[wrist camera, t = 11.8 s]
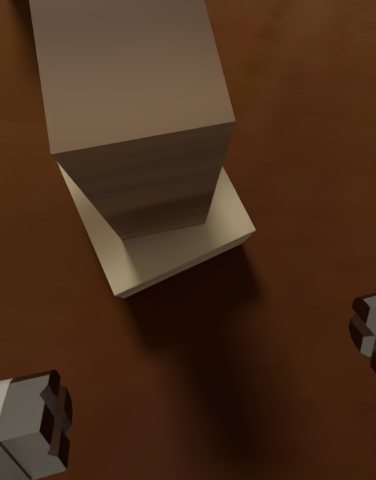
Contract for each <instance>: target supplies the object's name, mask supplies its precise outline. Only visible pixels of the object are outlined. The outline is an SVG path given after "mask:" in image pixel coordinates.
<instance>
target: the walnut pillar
mask: <svg viewBox="0 0 376 480" xmlns="http://www.w3.org/2000/svg"><path fill="white" fill-rule="evenodd" d="M29 3H30V10H31V17H32V24H33V31H34V38H35V45H36V52H37V59H38V66H39V73H40V80H41V87H42V94H43V101H44V108H45V115H46V122H47V129H48V136H49V143H50V150H51V155H52V156H53V157H54V159H55V160H56V161H57V162H58V163H59V165H60V166H61V167H62V168H63V169H64V171H65V172H66V173H67V174H68V176H69V177H70V178H71V179H72V180H73V182H74V183H75V184H76V185H77V186H78V188H79V189H80V190H81V191H82V192H83V194H84V195H85V196H86V197H87V199H88V200H89V201H90V202H91V203H92V205H93V206H94V207H95V208H96V209H97V211H98V212H99V213H100V214H101V216H102V217H103V218H104V219H105V220H106V222H107V223H108V224H109V225H110V226H111V228H112V229H113V230H114V231H115V232H116V234H117V235H118V236H119V237H120V239H121V240H124V239H129V238H135V237H140V236H145V235H150V234H155V233H160V232H165V231H170V230H175V229H180V228H185V227H190V226H195V225H200V224H205V223H206V219H207V216H208V212H209V209H210V206H211V202H212V199H213V196H214V192H215V189H216V185H217V182H218V179H219V175H220V172H221V168H222V165H223V162H224V158H225V155H226V152H227V148H228V145H229V141H230V138H231V135H232V131H233V128H234V125H235V117H234V113H233V109H232V106H231V102H230V98H229V94H228V90H227V86H226V82H225V78H224V75H223V71H222V67H221V63H220V59H219V55H218V51H217V47H216V44H215V40H214V36H213V32H212V28H211V24H210V20H209V16H208V13H207V9H206V5H205V1H204V0H29Z"/></svg>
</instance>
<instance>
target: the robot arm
mask: <svg viewBox="0 0 376 480" xmlns="http://www.w3.org/2000/svg"><path fill="white" fill-rule="evenodd" d="M352 308H353V310H354V311H355V312H356V313H355V314H354V315H353V316H352V317H351V319H350V322H349V331H350V335H351V338H352V340H353V342H354V344H355V346H356V347H357V349H358V350H359V351H360V352H361V353H362V354H364V355H366V356H368V357H370V366H371V368H372V369H373V370H374V372H375V373H376V293H372V294H368V295H364V296H360V297H356V299H355V300H354V301H353V305H352ZM60 378H61V377H60V375H59V374H58V372H57V371H56V370H50V371H45V372H40V373H35V374H31V375H26V376H21V377H16V378H12V379H8V380H3V381H0V480H35V479H39V478H42V477H46V476H49V475H52V474H56V473H59V472H63V471H66V470H67V465H68V456H69V446H70V441H69V440H68V438H67V437H66V435H65V433H66V432H67V431H68V429H69V428H70V426H71V425H72V415H73V411H72V401H71V397H70V394H69V392H68V390H67V388H66V387H64V386H61V385H60Z"/></svg>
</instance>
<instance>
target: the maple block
mask: <svg viewBox="0 0 376 480" xmlns="http://www.w3.org/2000/svg"><path fill="white" fill-rule="evenodd" d="M57 163H58V162H57ZM58 165H59V163H58ZM59 167H60V170H61V172H62V174H63V177H64V179H65V181H66V184H67V186H68V188H69V191H70V193H71V195H72V197H73V200H74V202H75V204H76V207H77V209H78V211H79V214H80V216H81V218H82V221H83V223H84V225H85V228H86V230H87V232H88V235H89V237H90V239H91V242H92V244H93V246H94V249H95V251H96V253H97V256H98V258H99V260H100V263H101V265H102V267H103V270H104V272H105V274H106V277H107V279H108V281H109V284H110V286H111V288H112V291H113V293H114V295H115V296H118V297H121V298H127V297H129V296H131V295H133V294H135V293H137V292H139V291H142V290H144V289H146V288H148V287H150V286H152V285H154V284H157V283H159V282H161V281H163V280H165V279H167V278H169V277H172V276H174V275H176V274H178V273H180V272H182V271H184V270H187V269H189V268H191V267H193V266H195V265H197V264H199V263H202V262H204V261H206V260H208V259H210V258H212V257H214V256H217V255H219V254H221V253H223V252H225V251H227V250H229V249H232V248H234V247H236V246H238V245H240V244H242V243H243V242H244V241H245V240H246V239H247V238H248V237H249V236H250V235H251V234H252V233H253V232H254V231H255V228H254V226H253V224H252V222H251V220H250V218H249V216H248V214H247V212H246V210H245V208H244V207H243V205H242V203H241V201H240V199H239V197H238V195H237V193H236V191H235V189H234V187H233V185H232V184H231V182H230V180H229V178H228V176H227V174H226V172H225V170H224V168H223V166H222V168H221V172H220V175H219V179H218V182H217V185H216V189H215V192H214V196H213V199H212V202H211V206H210V209H209V212H208V216H207V219H206V223H205V224H200V225H195V226H190V227H185V228H180V229H175V230H170V231H165V232H160V233H155V234H150V235H145V236H140V237H135V238H129V239H124V240H121V239H120V237H119V236H118V235H117V234H116V232H115V231H114V230H113V229H112V228H111V226H110V225H109V224H108V223H107V222H106V220H105V219H104V218H103V217H102V216H101V214H100V213H99V212H98V211H97V209H96V208H95V207H94V206H93V205H92V203H91V202H90V201H89V200H88V199H87V197H86V196H85V195H84V194H83V192H82V191H81V190H80V189H79V188H78V186H77V185H76V184H75V183H74V182H73V180H72V179H71V178H70V177H69V176H68V174H67V173H66V172H65V171H64V169H63V168H62V167H61V166H60V165H59Z"/></svg>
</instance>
